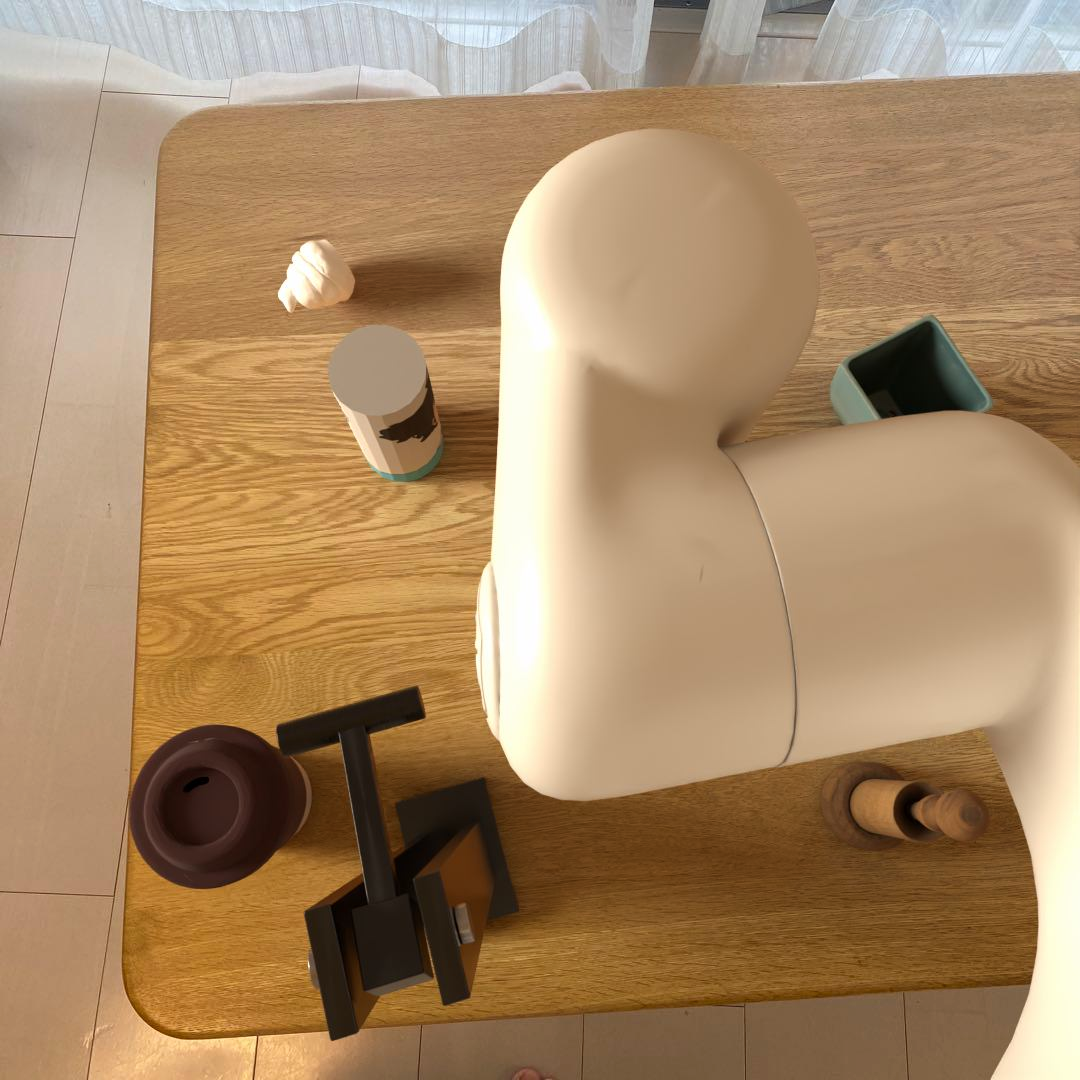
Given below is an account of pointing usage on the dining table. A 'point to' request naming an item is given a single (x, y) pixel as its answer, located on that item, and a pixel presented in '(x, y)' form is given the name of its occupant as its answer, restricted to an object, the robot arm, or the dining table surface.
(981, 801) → the mortar and pestle
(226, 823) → the coffee cup
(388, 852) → the t-handle lever
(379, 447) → the beige cylindrical canister
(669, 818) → the dining table surface
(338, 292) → the garlic bulb
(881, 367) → the flower pot
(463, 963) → the lever bracket
